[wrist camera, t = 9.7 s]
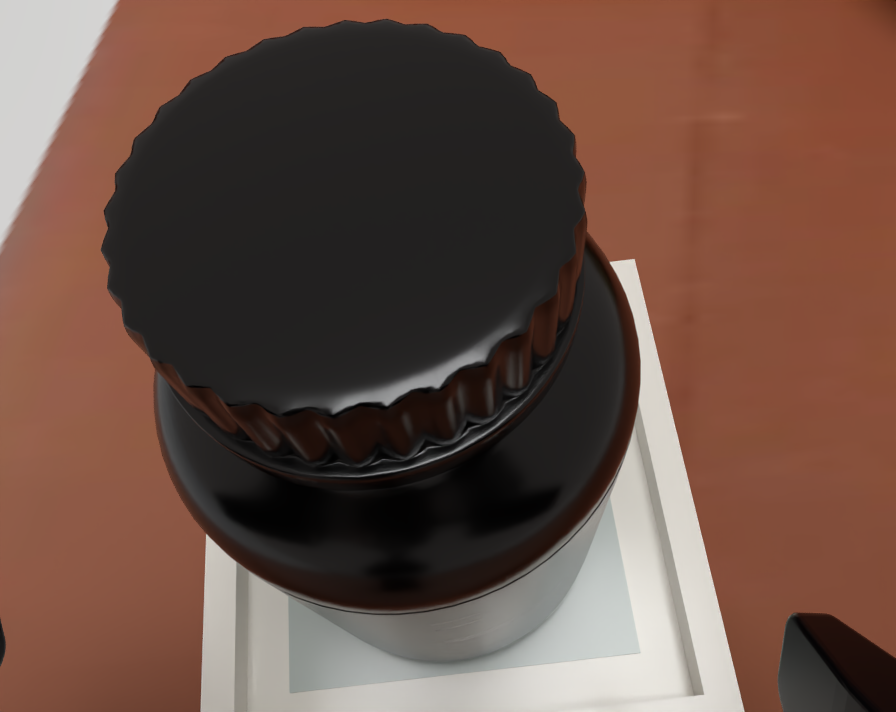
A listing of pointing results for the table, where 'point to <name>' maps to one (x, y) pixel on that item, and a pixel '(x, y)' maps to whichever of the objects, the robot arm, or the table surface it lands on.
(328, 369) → the supplement bottle
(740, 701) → the cream ceramic dish
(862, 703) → the robot arm
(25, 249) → the table surface
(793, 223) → the table surface
